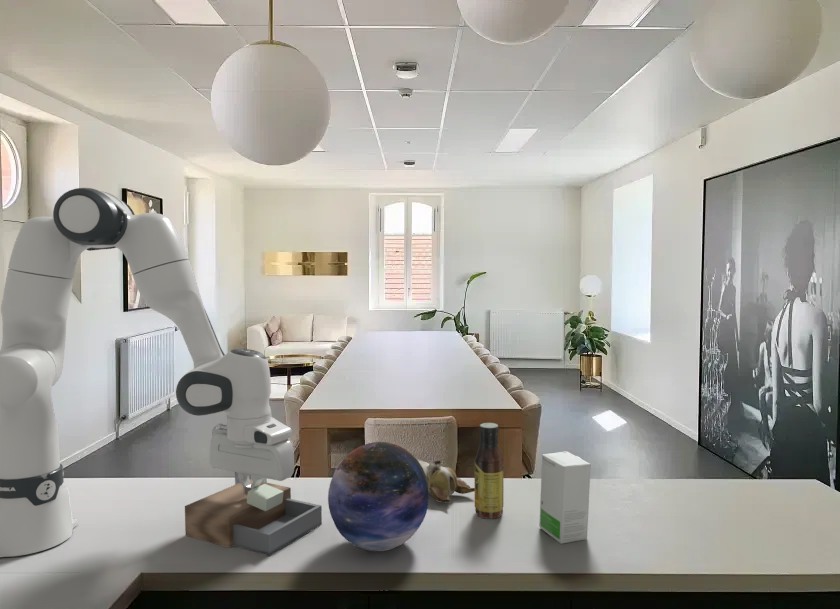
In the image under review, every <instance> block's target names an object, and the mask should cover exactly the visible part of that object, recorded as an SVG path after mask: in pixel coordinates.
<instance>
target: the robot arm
mask: <svg viewBox="0 0 840 609" xmlns="http://www.w3.org/2000/svg"><path fill="white" fill-rule="evenodd" d="M52 213H53V214H52V215H53V216H43V215H42V216H35V217H31V218H29V219H27V220H26V221H24V222H23V223H22V225H21V227H20V228H19V232H17V233H18V234H17V237H16V238H15V241H14V244H13V247H12V251H11V254H10V258H9V263H8V269H7V273H6V278H5V283H4V289H3V294H2V300H1V305H0V313H1V317H2V338H1V339H2V341H1V346H0V347H1V348H0V558H5V557H6V558H7V557H19V556H25V555H31V554H34V553H38V552H42V551H45V550H49V549H50V548H53V547H56V546H58V545H60V544H62V543H63V542H66V541H67V540H68V539H69V538H70V537H72V534H73V531H74V529H75V527H76V526H78V524H79V523H78V522H79V521H78V518H75V517H73V514H72V507H71V506H72V505H71V499H70V492H69V488H68V487H66V486H64V485H63V484H64V483H65V482H64V480H65V479H64V476H65V471H64V467H63V464H61V455H60V454H61V452H60V451H61V450H60V448H61V447H60V428H59V426H60V425H59V424H58V422H57V419H56V414H55V413H56V412H55V409H54V405H53V403H54V402H53V397H52V388H53V386H55V385H56V384H57V382H58V381H59V379H60V378H61V375H62V372H63V366H64V365H63V364H64V358H65V348H66V337H67V335H66V334H67V319H68V314H69V313H68V312H69V307H70V302H71V296H72V290H73V285H74V279H75V273H76V268H77V263H78V260H79V257H80V256H81V254H82V253H83V252H85V251H86V250H87V251H88V252H89V251H98V250H111V249H118V250H119V251H120V252H122V254H123V255H124V257H125V259H126V261H127V264H128V266H129V269H130V271H131V275H132V277H133V280H134V281H133V282H134V283H135V286H136V288H137V290H138V292H139V295H140V296H141V297H142V299H143V301H144V303H145V304H146V306H148V307H149V308H150V309H151V310H153V311H155V312H157V313H159V314H161V315H163V316H164V317H166V318H167V319H169V320H170V321H172V322H173V323H174V324H175V325H176V327H177V328H178V330H179V331H180V334H181V335H182V338H183V340H184V342H185V345H186V347H187V349H188V352H189V354H190V356H191V357H190V358H191V360H192V362H193V369H191V370H189V371H188V372H186V373H185V374H184V375H183V376H182V377H181V378H180V379H179V381H178V383H177V384H176V388H175V398H176V401H177V403H178V405H179V406H180V408H181V409H182V410H183V411H185V412H186V413H188V414H190V415H193V416H197V417H198V416H200V417H201V416H208V415H213V414H216V413H220V412H221V413H222V412H225V413H226V424H224V423H217V424H216V425H214V426H213V428H212V429H211V439H210V444H209V456H208V457H209V458H208V461H209V464H210V466H211V467H212V469H217V470H222V471H227V472H231V473H232V472H233V473H235V472H237V473H238V479H239V481H240V483H241V485H242V486H243V494H247V495H248V491H250V490H252V489H254V488H257V487H259V486H260V484H261V482H262V480H263V478H267V480H273V481H277V482H282V481H285V480H287V479H290V478H291V477H292V476H293V474H294V472H295V456H294V455H295V454H294V447H293V443H292V442H291V441H290V440H289V439H291V437H292V434H293V433H292V432H293V431H292V429H291V427H290V426H288V425H286V424H285V423H282V422H281V421H279V420H277V419H276V418H275V417H273V416H272V408H271V405H270V397H271V393H272V389H271V387H272V386H271V385H272V383H271V371H270V366H269V365H270V364H269V361H268V359H267V357H266V355H264V354H263V353H262V352H260V351H257V350H255V349H248V348H233V349H231V350H229V351H228V352H227V353H226V354H225V352H224V350H223V349H222V347H221V345H220V342H219V340H218V338H217V335H216V333H215V330H214V328H213V325H212V322H211V320H210V318H209V315H208V313H207V311H206V308H205V306H204V305H205V304H204V303H203V298H202V296H201V294H200V290H199V286H198V282H197V279H196V276H195V273H194V269H193V267H192V263H191V261H190V258H189V254H188V252H187V250H186V248H185V245H184V243H183V241H182V239H181V236H180V235H179V233H178V232H177V230H176V227H175V226H174V224H173V222H172V221H171V220H170V218H169V217H168V216H166V215H164V214H162V213H156V212H145V213H140V214H136V213H135V211H133V209H132V208H131V206H130V205H129V204H128V203H127V202H125V201H124V200H123V199H119V197H117V196H116V195H114V194H111V193H110V192H106V191H102V190H98V189H96V188H90V187H78V188H76V187H75V188H73V189H70V190H68V191H66V192H64V193H63V194H62V195H61V196H60V197H59V198H58V199H57V200H56V201H55V203H54V208H53V212H52ZM249 475H251V480H254V481H253V483H252V484H251V482H250V479H249V477H248V476H249Z"/></svg>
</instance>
